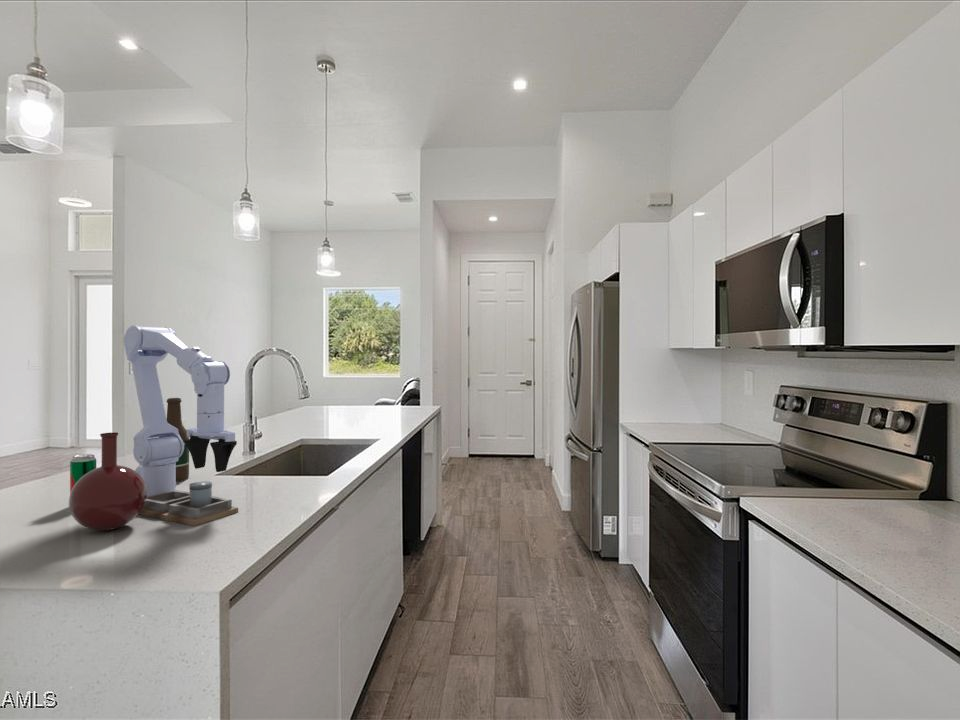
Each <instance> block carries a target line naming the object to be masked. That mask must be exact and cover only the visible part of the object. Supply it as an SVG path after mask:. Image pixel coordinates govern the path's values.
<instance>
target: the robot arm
mask: <svg viewBox="0 0 960 720" xmlns="http://www.w3.org/2000/svg"><path fill="white" fill-rule="evenodd" d="M123 344H124V351H125V355H126V360H127V361H129V362H130V363H131V364H130V365H131V369H132V374H133V378H134V384H135V389H136V395H137V399H138V400H137V401H138V405H139V406H138V407H139V411H140V415H141V420H142V421H141V422H142V425H143V427H142V428H141V429H140V430H139V431H138V432H137V433H136V434H135V435H134V436H133V451H132V452H133V453H132V454H133V458H134V459H135V461H136V463H138V465H137V467H136V468H135V469H134V471H136V472H137V473H138V474H139V475H140V476H141V477H142V479H143V480H144V482H145V485H146V489H147V496H146V497H148V496H152V495H156V494H160V493H164V492H168V491H172V490H177V487H176V485H177V484H176V483H177V482H176V461H179V457H181V455H182V453H183V451H184V443H185V444H186V446H187V447H188V449H189V454H190V457H191V459H192V463H193V466H194V469H195V470H196V469H197V470H198V469H203V468H205V467H206V462H207V459H206V458H207V452H208V448H209V445H210V446H211V449H212V451H213V456H214V466H215V467H214V468H215V471H216V473H221V472H226V471H227V468H228V464H229V460H230V458H231V454H232V452H233V450H234V449H235V447H236V446H237V444H238V442H237V440H236V432H233V431H228V430H226V429H225V385H226V384H227V383H229V380H230V376H231V371H230V370H231V369H230V367H229V366H228V364H227V363H226V362H225V361H214V359H213V357H211V356H210V355H209V356H208V355H207V354H205V353H204V352H202V351H201V348H200V347H199V346H187V345H186V344H184V342H182V341H181V339H179V338H178V337H177V333H176V331H175V330H173V329H172V328H170V327H169V326H168V327H167V326H165V327H159V326H158V327H157V326H156V327H155V326H140V325H130V326H129V327H128V328H127V329H126V331H125V334H124V337H123ZM168 354H169V355H171V356H172V357H174V358H176V364H177V365H178V367H179V368H181V369H182V370H183V371H185V372H186V373H188V374H189V375H190V378H191V381H192V383H193V387H194V392H195V394H196V427H194V428H187V429H186V430H187V437H189V439H188V440H184V443H183V441H182V439H181V437H180V435H179V432H178V429H177V428H175V427H174V426H172V425H170V424H168V423H167V413H166V410H165V406H164V405H165V404H164V399H163V395H162V389H161V385H160V379H159V375H158V369H157V364H158V363H159V362H162V361H164V360H165V358H166V357H167V356H168ZM211 440H214V441H213V442H210V441H211Z"/></svg>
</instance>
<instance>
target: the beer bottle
mask: <svg viewBox="0 0 960 720" xmlns="http://www.w3.org/2000/svg"><path fill="white" fill-rule="evenodd" d="M166 403H167V408H166V419H167V423H168V424H170V425H172V426H174V427H175V428H177V429H178V432H179V435H180V437H181V439H182V441H183V443H184V440H188V439H189V438H190V437H187V429H186V427H185V426H184V425H183V422H182V421H183V420H182V409H181V407H182V406H181V403H182V398H180V397H169V398H167V399H166ZM189 477H190V451H189V449H188V447H187V446H186V444H185V443H184V451H183V453H182V455H181V457H179V461H176V483H179V482H184V481H186V480H188V479H189Z"/></svg>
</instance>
